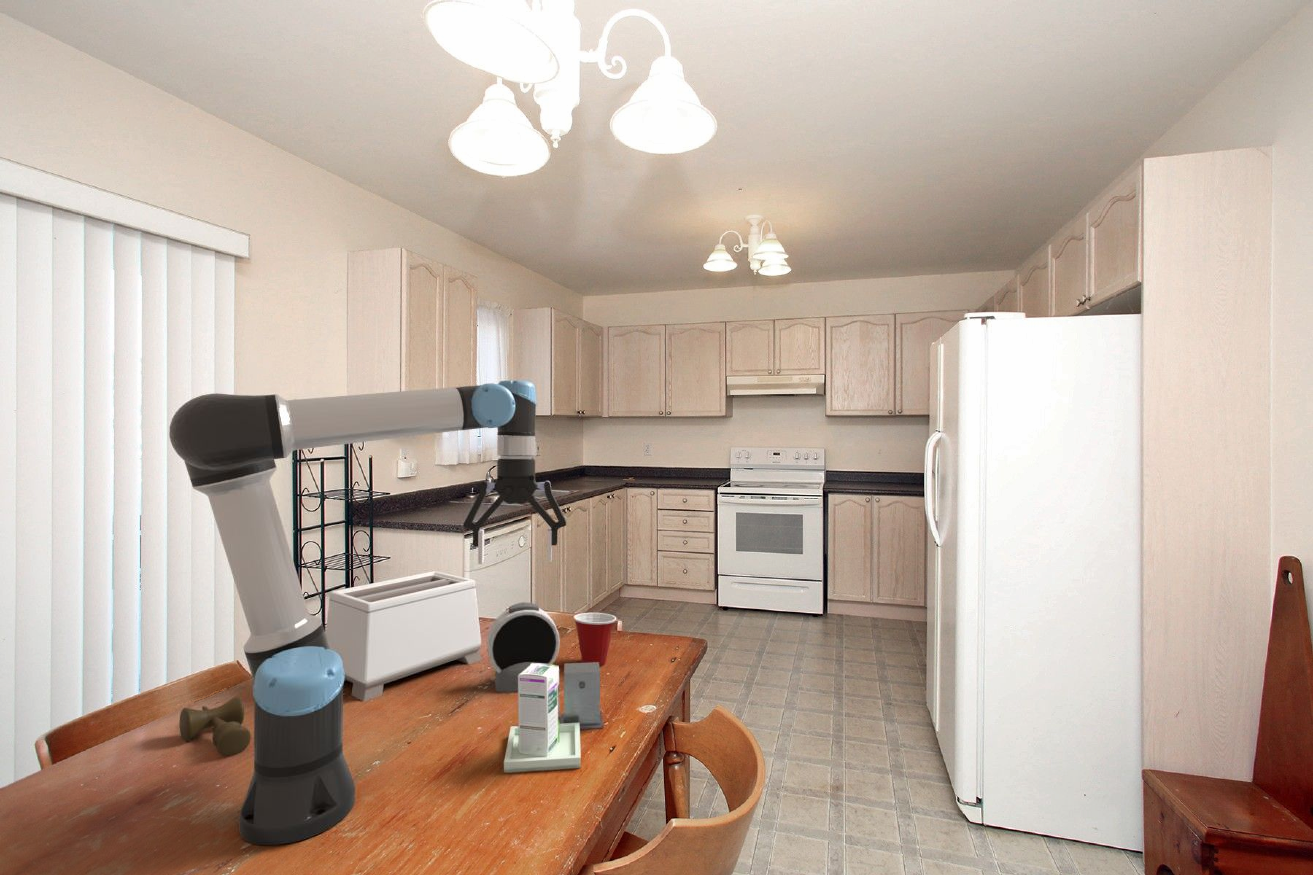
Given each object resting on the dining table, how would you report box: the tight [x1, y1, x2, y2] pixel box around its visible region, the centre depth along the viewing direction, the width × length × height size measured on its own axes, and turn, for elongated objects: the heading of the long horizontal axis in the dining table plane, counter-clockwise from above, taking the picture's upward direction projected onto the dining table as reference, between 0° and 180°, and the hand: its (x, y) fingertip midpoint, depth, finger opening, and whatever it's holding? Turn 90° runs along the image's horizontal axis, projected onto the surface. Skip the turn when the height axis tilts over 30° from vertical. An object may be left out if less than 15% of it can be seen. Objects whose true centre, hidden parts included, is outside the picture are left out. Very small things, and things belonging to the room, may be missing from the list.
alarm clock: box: [486, 601, 561, 693], centre depth 143 cm, size 16×10×18 cm, turn 109°
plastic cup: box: [573, 612, 617, 668], centre depth 156 cm, size 11×11×12 cm
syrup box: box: [517, 663, 560, 757], centre depth 112 cm, size 6×6×14 cm
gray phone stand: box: [559, 662, 604, 730], centre depth 124 cm, size 8×6×11 cm
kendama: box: [179, 695, 252, 758], centre depth 116 cm, size 6×10×20 cm
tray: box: [503, 723, 582, 774], centre depth 113 cm, size 13×13×2 cm
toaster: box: [325, 570, 483, 702], centre depth 152 cm, size 19×34×21 cm, turn 144°
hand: (515, 562), depth 125 cm, fingers open, 13 cm apart
